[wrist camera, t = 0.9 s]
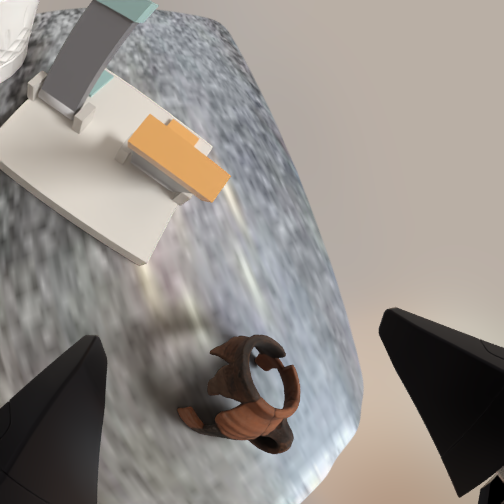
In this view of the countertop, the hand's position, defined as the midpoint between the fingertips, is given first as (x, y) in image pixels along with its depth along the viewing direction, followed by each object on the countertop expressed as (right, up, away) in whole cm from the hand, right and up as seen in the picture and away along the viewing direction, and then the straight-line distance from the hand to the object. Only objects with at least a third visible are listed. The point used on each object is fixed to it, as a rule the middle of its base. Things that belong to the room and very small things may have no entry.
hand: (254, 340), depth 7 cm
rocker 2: (-7, +8, +11) cm, 16 cm away
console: (-12, +11, +11) cm, 20 cm away
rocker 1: (-14, +14, +6) cm, 21 cm away
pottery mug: (-2, -11, +15) cm, 19 cm away
